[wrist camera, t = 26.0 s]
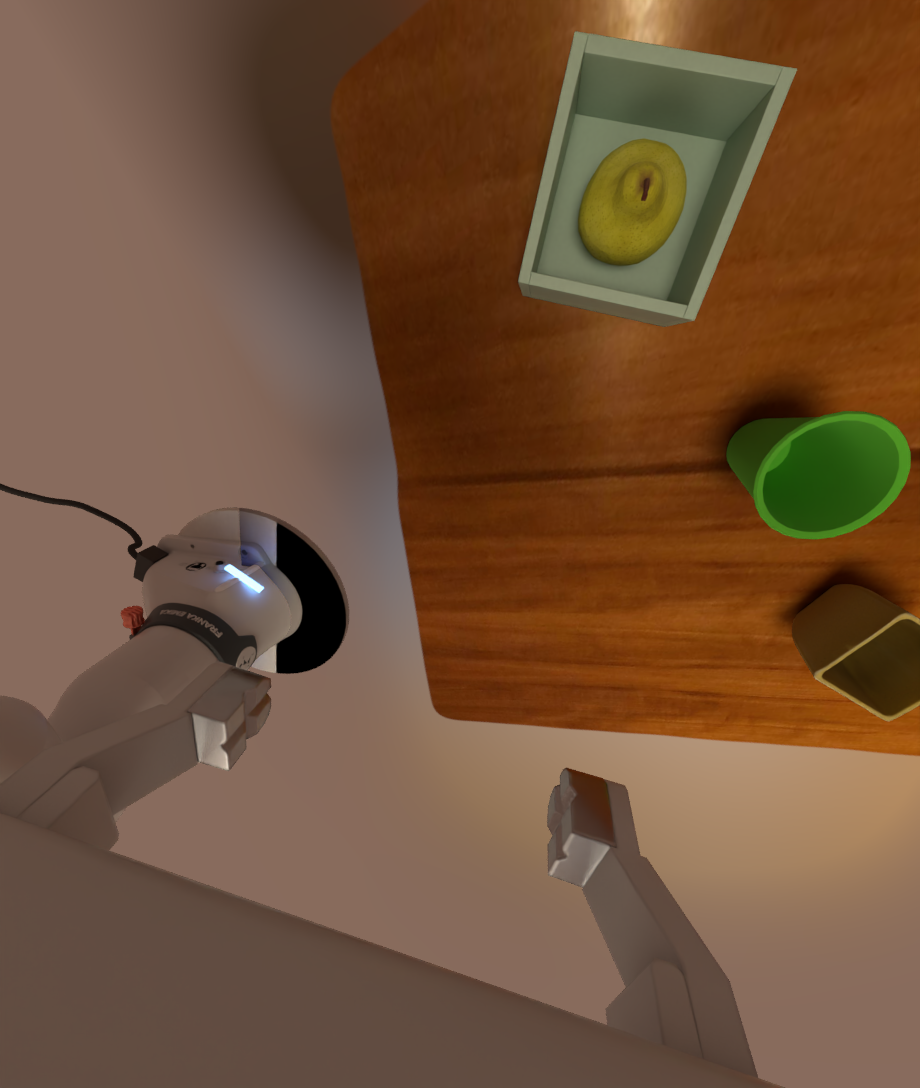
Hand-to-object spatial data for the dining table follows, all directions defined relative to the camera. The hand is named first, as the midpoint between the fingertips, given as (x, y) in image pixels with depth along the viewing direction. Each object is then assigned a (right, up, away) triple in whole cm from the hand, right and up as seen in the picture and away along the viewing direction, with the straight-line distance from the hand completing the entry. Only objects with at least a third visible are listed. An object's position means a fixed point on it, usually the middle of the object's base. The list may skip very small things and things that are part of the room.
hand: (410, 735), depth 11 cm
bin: (+14, +31, +22) cm, 41 cm away
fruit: (+14, +31, +22) cm, 40 cm away
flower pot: (+40, -2, +32) cm, 52 cm away
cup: (+29, +14, +27) cm, 42 cm away
